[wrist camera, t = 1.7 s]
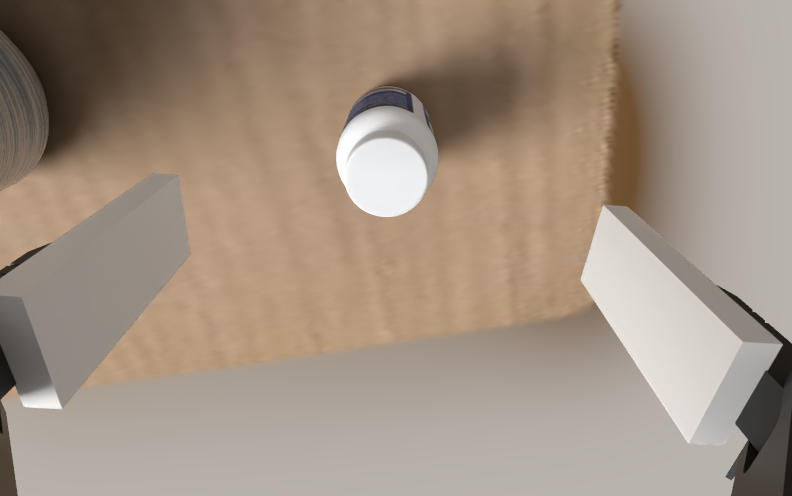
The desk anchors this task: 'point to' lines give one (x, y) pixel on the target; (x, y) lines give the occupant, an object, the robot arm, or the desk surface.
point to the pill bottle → (387, 152)
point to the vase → (20, 115)
